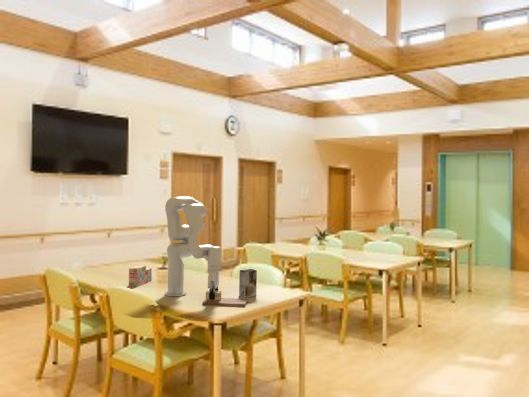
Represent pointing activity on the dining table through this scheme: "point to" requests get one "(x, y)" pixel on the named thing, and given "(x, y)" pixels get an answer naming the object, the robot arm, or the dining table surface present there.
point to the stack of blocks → (139, 275)
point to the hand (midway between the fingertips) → (213, 297)
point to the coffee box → (247, 283)
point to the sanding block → (217, 296)
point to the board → (227, 302)
